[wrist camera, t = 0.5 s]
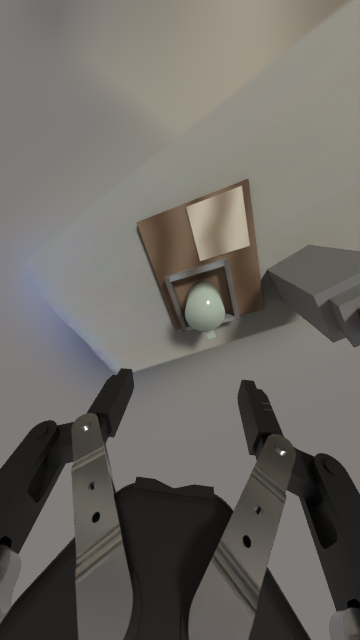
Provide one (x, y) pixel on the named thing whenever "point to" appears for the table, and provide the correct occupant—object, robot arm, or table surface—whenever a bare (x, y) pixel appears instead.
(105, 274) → the table surface
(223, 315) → the pale green rounded piece
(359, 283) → the perfume bottle
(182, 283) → the wooden panel with label
